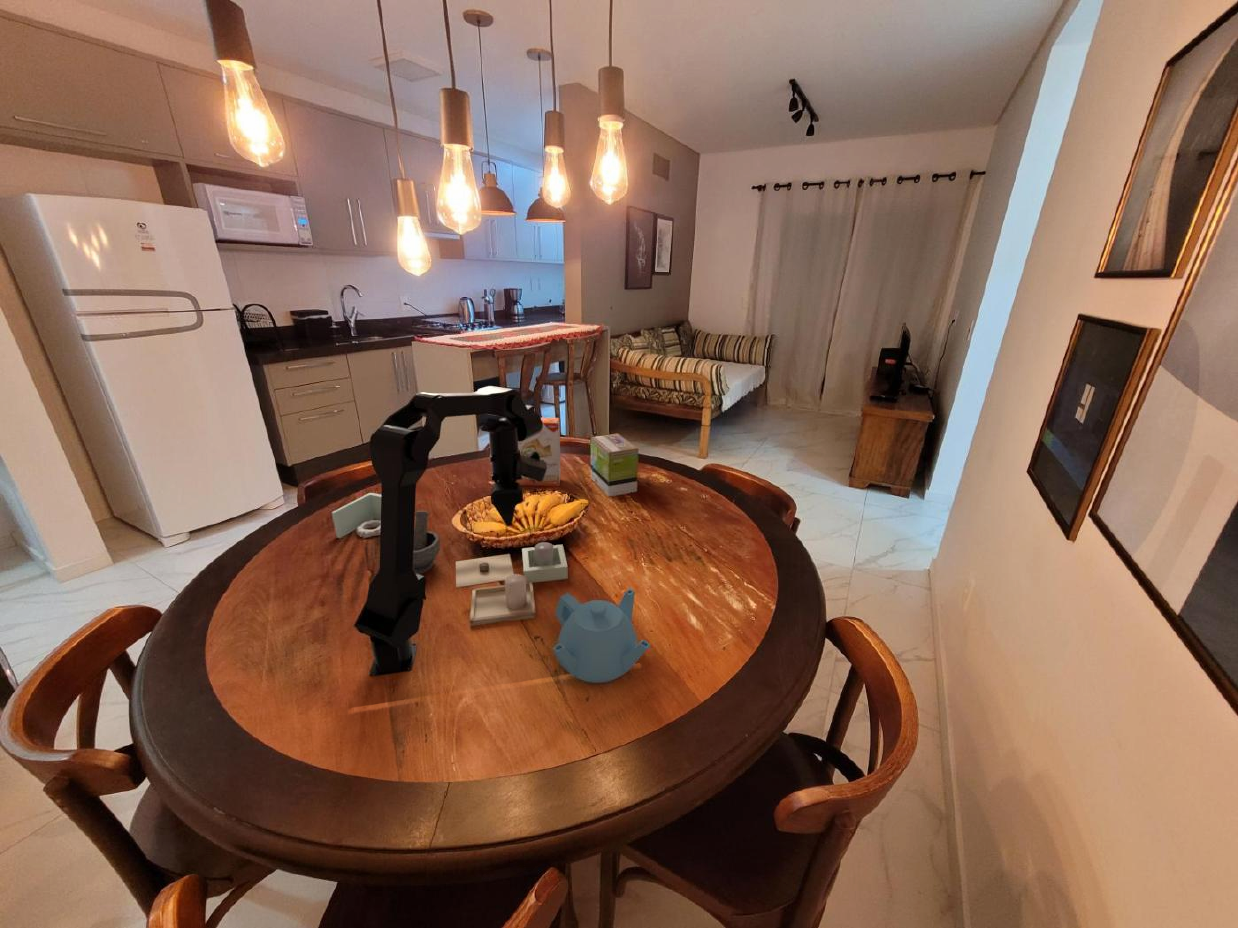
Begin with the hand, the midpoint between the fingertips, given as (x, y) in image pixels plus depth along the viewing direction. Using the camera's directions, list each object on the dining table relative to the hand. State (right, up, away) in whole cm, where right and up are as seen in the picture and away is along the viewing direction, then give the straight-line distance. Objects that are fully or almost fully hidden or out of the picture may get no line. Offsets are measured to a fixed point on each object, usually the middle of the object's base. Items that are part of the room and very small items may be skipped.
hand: (508, 515), depth 104 cm
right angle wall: (-38, -6, +17) cm, 42 cm away
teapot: (+20, -23, -21) cm, 37 cm away
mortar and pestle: (-20, -12, +3) cm, 24 cm away
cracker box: (-2, +5, +47) cm, 48 cm away
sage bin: (+7, -13, +2) cm, 15 cm away
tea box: (+22, +4, +47) cm, 52 cm away
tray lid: (-6, -13, +1) cm, 14 cm away
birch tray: (+1, -17, -9) cm, 20 cm away
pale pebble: (+4, -17, -9) cm, 19 cm away
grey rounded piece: (+7, -12, +2) cm, 14 cm away
